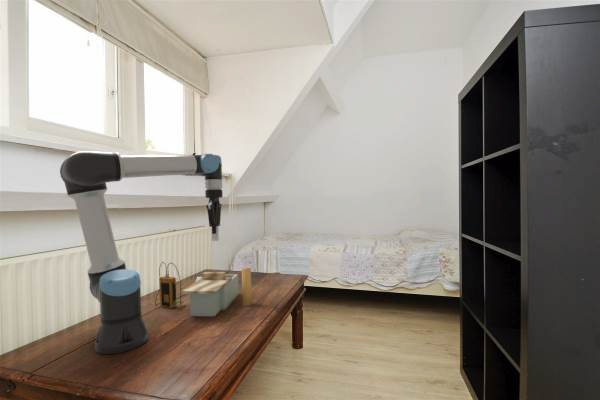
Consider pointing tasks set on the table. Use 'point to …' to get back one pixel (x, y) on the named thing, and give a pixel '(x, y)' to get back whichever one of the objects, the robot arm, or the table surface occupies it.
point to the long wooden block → (246, 287)
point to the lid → (208, 283)
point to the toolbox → (214, 299)
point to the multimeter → (168, 290)
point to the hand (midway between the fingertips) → (215, 240)
